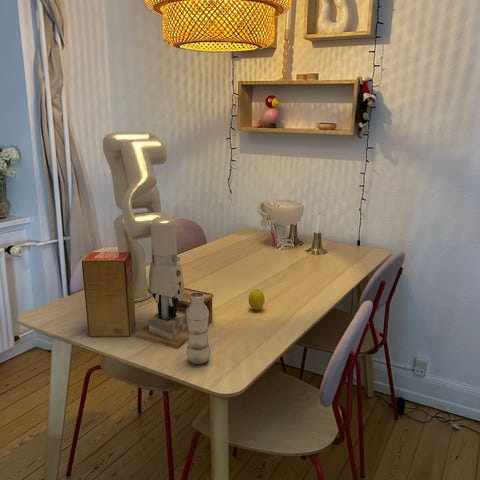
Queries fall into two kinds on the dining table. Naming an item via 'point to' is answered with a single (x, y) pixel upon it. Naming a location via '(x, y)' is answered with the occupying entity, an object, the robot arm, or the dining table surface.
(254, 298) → the lemon
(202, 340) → the plastic bottle
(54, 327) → the dining table surface
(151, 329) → the stand
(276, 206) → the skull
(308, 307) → the dining table surface
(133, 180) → the robot arm
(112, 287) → the food packaging
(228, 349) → the dining table surface
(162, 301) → the peg
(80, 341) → the dining table surface
